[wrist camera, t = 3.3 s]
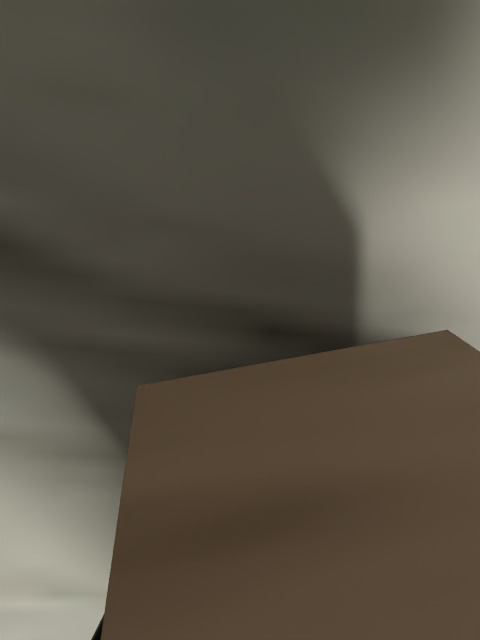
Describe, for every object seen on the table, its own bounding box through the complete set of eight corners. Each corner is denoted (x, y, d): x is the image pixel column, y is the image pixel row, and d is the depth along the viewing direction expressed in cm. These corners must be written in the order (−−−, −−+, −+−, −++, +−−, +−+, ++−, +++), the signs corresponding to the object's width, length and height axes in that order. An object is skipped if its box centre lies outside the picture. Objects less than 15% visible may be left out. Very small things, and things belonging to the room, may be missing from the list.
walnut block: (426, 542, 11) (701, 974, 5) (191, 596, 10) (215, 1145, 5) (447, 329, 8) (1025, 723, 3) (136, 385, 8) (44, 1031, 2)
